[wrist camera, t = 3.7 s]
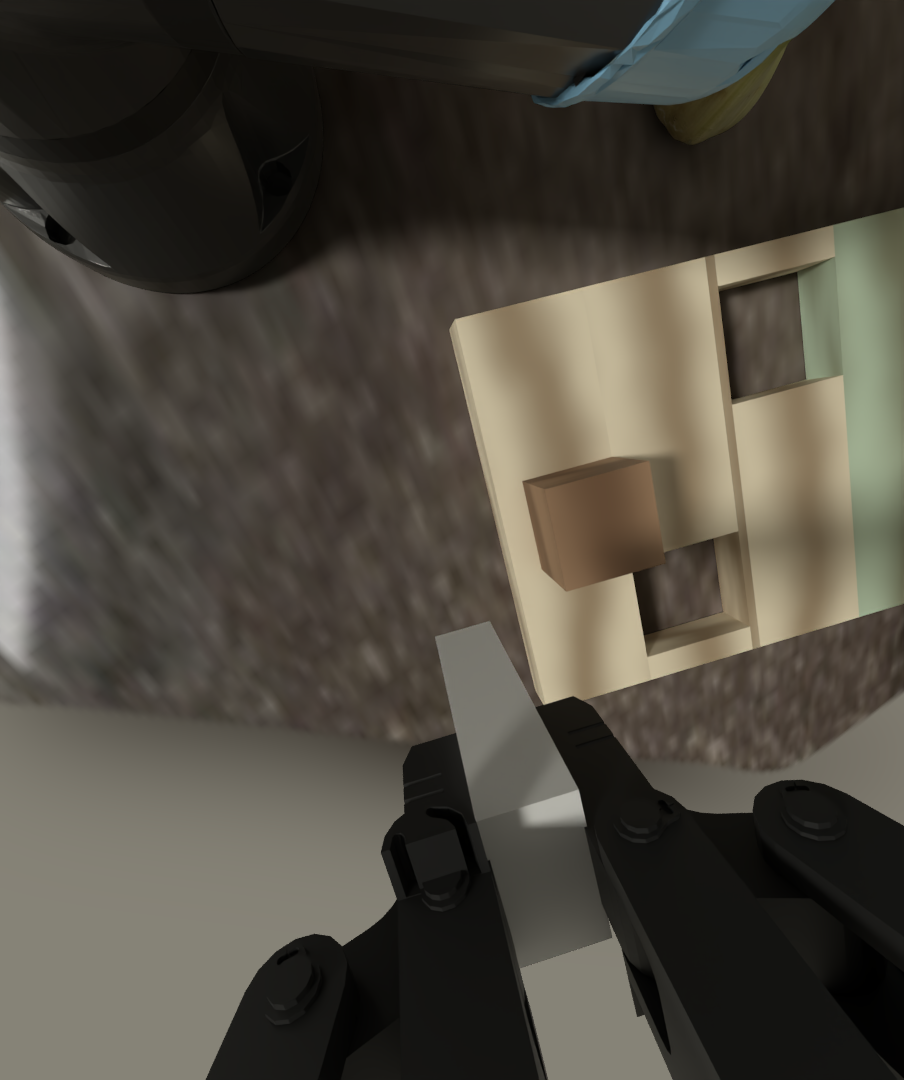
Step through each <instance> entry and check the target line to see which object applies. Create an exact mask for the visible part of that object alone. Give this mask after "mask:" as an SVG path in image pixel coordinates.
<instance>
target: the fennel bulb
mask: <svg viewBox="0 0 904 1080" xmlns="http://www.w3.org/2000/svg"><path fill="white" fill-rule="evenodd" d="M792 39H793V38H792ZM792 39H790V40H787V41H785V42H783V43H782V44H780V45H778V46H777V47H776V48H775V49H774V51H773V52H772V53H771V54H770V55H769V56H768V57H767V58H766V59H765V60H764V61H763V62H762V63H761V64H760V65H758V66H757V67H756V68H754V69H753V70H752V71H750V72H749V73H748V74H746V75H745V76H744V77H742V78H741V79H740V80H738V81H737V82H735V83H733V84H731V85H730V86H728V87H726V88H724V89H722V90H720V91H718V92H716V93H713V94H711V95H709V96H707V97H704V98H701V99H698V100H694V101H690V102H686V103H682V104H674V105H654V104H653V105H654V109H655V112H656V115H657V117H658V118H659V120H660V121H661V122H662V123H663V124H664V125H665V126H666V128H667V130H668V132H669V133H670V134H671V136H672V137H673V138H674V139H675V140H679V141H681V142H683V143H685V144H688V145H695V144H697V143H700V142H702V141H705V140H706V139H708V138H711V137H714V136H716V135H718V134H721V133H723V132H725V131H727V130H728V129H730V128H731V127H733V126H734V125H736V124H737V123H738V122H739V121H740V120H741V119H743V118H744V117H745V116H746V115H747V113H748V112H749V111H750V110H751V109H752V108H753V106H754V105H755V104H756V102H757V101H758V100H759V98H760V97H761V95H762V93H763V92H764V90H765V88H766V87H767V85H768V83H769V81H770V80H771V78H772V76H773V74H774V72H775V70H776V68H777V66H778V64H779V62H780V60H781V58H782V56H783V54H784V51H785V49H786V47H787V44H788V43H789V42H790V41H791V40H792Z"/></svg>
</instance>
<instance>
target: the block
mask: <svg viewBox="0 0 904 1080" xmlns="http://www.w3.org/2000/svg"><path fill="white" fill-rule="evenodd" d="M522 483H523V487H524V492H525V496H526V501H527V505H528V510H529V514H530V519H531V523H532V528H533V532H534V537H535V542H536V546H537V551H538V555H539V560H540V564H541V569H542V570H543V571H544V572H545V573H546V574H547V575H548V576H549V577H551V578H552V579H553V580H554V581H555V582H556V583H557V584H558V585H559V586H560V587H562V588H563V589H564V590H565V591H566V592H568V591H571V590H575V589H578V588H582V587H585V586H588V585H592V584H595V583H599V582H602V581H606V580H609V579H613V578H616V577H620V576H623V575H627V574H630V573H634V572H637V571H641V570H644V569H648V568H651V567H655V566H658V565H662V564H665V563H666V562H665V556H664V549H663V543H662V537H661V530H660V524H659V518H658V512H657V505H656V499H655V493H654V487H653V480H652V474H651V468H650V462H649V461H646V460H637V459H628V458H618V457H609V458H606V459H602V460H598V461H595V462H591V463H587V464H583V465H580V466H576V467H572V468H569V469H565V470H561V471H558V472H554V473H550V474H547V475H543V476H539V477H536V478H532V479H528V480H525V481H522Z"/></svg>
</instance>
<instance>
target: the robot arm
mask: <svg viewBox="0 0 904 1080" xmlns="http://www.w3.org/2000/svg"><path fill="white" fill-rule="evenodd" d="M834 1H835V0H0V202H1V203H2V204H3V205H4V206H5V207H6V208H7V209H8V210H9V211H10V212H11V213H12V214H13V215H14V216H15V217H16V218H17V219H18V220H19V221H20V222H21V223H23V224H24V225H25V226H26V227H27V228H28V229H29V230H31V231H32V232H33V233H34V234H36V235H37V236H38V237H40V238H41V239H42V240H44V241H45V242H46V243H48V244H49V245H51V246H52V247H54V248H55V249H57V250H58V251H60V252H62V253H63V254H65V255H67V256H68V257H70V258H72V259H74V260H76V261H77V262H79V263H81V264H83V265H85V266H86V267H88V268H90V269H92V270H94V271H96V272H98V273H100V274H102V275H104V276H106V277H108V278H111V279H113V280H115V281H118V282H121V283H124V284H126V285H129V286H133V287H137V288H140V289H145V290H150V291H156V292H165V293H194V292H202V291H208V290H213V289H217V288H220V287H224V286H227V285H229V284H232V283H235V282H237V281H239V280H241V279H243V278H246V277H247V276H249V275H251V274H253V273H254V272H256V271H257V270H259V269H260V268H262V267H263V266H265V265H266V264H267V263H268V262H269V261H271V260H272V259H273V258H274V257H275V256H276V255H277V254H278V253H279V252H280V251H281V250H282V249H283V248H284V247H285V246H286V245H287V243H288V242H289V241H290V240H291V238H292V237H293V236H294V234H295V233H296V232H297V230H298V228H299V227H300V225H301V223H302V222H303V220H304V218H305V216H306V214H307V212H308V210H309V207H310V205H311V202H312V200H313V197H314V194H315V191H316V188H317V184H318V180H319V176H320V170H321V164H322V155H323V118H322V109H321V103H320V97H319V92H318V87H317V83H316V78H315V74H314V69H313V66H316V67H324V68H331V69H339V70H347V71H354V72H362V73H369V74H377V75H385V76H392V77H400V78H407V79H415V80H423V81H430V82H438V83H446V84H453V85H461V86H468V87H476V88H484V89H491V90H499V91H506V92H514V93H522V94H529V95H531V97H532V99H533V102H534V103H536V104H539V105H542V106H545V107H553V108H558V107H568V106H570V105H573V104H576V103H579V102H581V101H597V102H616V103H635V104H654V105H674V104H682V103H686V102H690V101H694V100H698V99H701V98H704V97H707V96H709V95H711V94H713V93H716V92H718V91H720V90H722V89H724V88H726V87H728V86H730V85H731V84H733V83H735V82H737V81H738V80H740V79H741V78H742V77H744V76H745V75H746V74H748V73H749V72H750V71H752V70H753V69H754V68H756V67H757V66H758V65H760V64H761V63H762V62H763V61H764V60H765V59H766V58H767V57H768V56H769V55H770V54H771V53H772V52H773V51H774V49H775V48H776V47H777V46H778V45H780V44H782V43H783V42H785V41H787V40H790V39H792V38H794V37H796V36H797V35H799V34H800V33H801V32H802V31H804V30H805V29H806V28H807V27H808V26H809V25H811V24H812V23H813V22H814V21H815V20H816V19H817V18H818V17H819V16H820V15H821V14H822V13H823V12H824V11H825V10H826V9H827V8H828V7H829V6H830V5H831V4H832V3H833V2H834ZM435 639H436V643H437V648H438V652H439V657H440V661H441V666H442V670H443V675H444V680H445V684H446V689H447V693H448V698H449V702H450V707H451V712H452V716H453V721H454V725H455V730H456V733H455V734H452V735H448V736H445V737H442V738H438V739H435V740H432V741H428V742H425V743H422V744H418V745H415V746H412V747H411V750H410V752H409V754H408V756H407V758H406V760H405V762H404V764H403V785H404V802H405V805H404V812H405V814H403V815H402V816H401V817H400V818H399V819H397V820H396V821H395V822H394V823H393V825H392V827H391V828H390V829H389V831H388V832H387V834H386V835H385V838H384V842H383V846H382V850H381V854H382V857H383V860H384V863H385V866H386V869H387V872H388V874H389V877H390V880H391V883H392V886H393V889H394V892H395V895H396V897H397V900H396V902H395V903H394V905H393V906H392V907H391V909H390V910H389V911H388V912H387V913H386V914H385V915H384V917H383V918H382V919H380V920H379V921H378V922H377V923H375V924H374V925H373V926H372V927H371V928H369V929H368V930H366V931H365V932H363V933H362V934H360V935H359V936H357V937H356V938H354V939H353V940H351V941H350V942H348V943H347V944H345V945H344V946H341V945H340V944H338V942H336V941H335V940H334V939H333V938H332V937H331V936H325V935H318V934H313V935H309V936H305V937H302V938H298V939H295V940H294V941H292V942H290V943H289V944H287V945H286V946H284V947H283V948H281V949H279V950H278V951H276V952H275V953H274V954H273V955H272V956H271V957H270V959H269V960H268V961H267V962H266V963H265V964H264V965H263V966H262V967H261V968H260V969H259V970H258V972H257V973H256V975H255V977H254V978H253V980H252V982H251V983H250V985H249V987H248V988H247V990H246V992H245V993H244V996H243V998H242V1000H241V1002H240V1005H239V1007H238V1009H237V1012H236V1013H235V1016H234V1018H233V1020H232V1023H231V1025H230V1027H229V1029H228V1032H227V1033H226V1036H225V1038H224V1040H223V1042H222V1045H221V1047H220V1049H219V1051H218V1054H217V1056H216V1058H215V1060H214V1062H213V1065H212V1067H211V1069H210V1071H209V1074H208V1076H207V1078H206V1080H548V1077H547V1073H546V1070H545V1065H544V1061H543V1057H542V1053H541V1049H540V1045H539V1041H538V1037H537V1033H536V1029H535V1025H534V1020H533V1016H532V1012H531V1009H530V1005H529V1002H528V998H527V995H526V991H525V988H524V984H523V980H522V976H521V972H520V968H522V967H526V966H528V965H532V964H535V963H538V962H540V961H544V960H547V959H550V958H553V957H556V956H559V955H562V954H565V953H568V952H571V951H574V950H577V949H580V948H582V947H586V946H589V945H592V944H595V943H598V942H601V941H604V940H606V939H609V938H612V934H611V929H610V925H609V921H610V923H611V925H612V928H613V930H614V932H615V934H616V937H617V939H618V941H619V943H620V946H621V948H622V952H623V957H624V961H625V966H626V970H627V974H628V979H629V983H630V988H631V992H632V997H633V1001H634V1005H635V1009H636V1014H637V1017H639V1016H642V1015H645V1017H646V1019H647V1021H648V1024H649V1026H650V1028H651V1030H652V1033H653V1035H654V1037H655V1040H656V1042H657V1044H658V1047H659V1049H660V1051H661V1054H662V1056H663V1058H664V1060H665V1062H666V1065H667V1067H668V1070H669V1072H670V1074H671V1077H672V1079H673V1080H904V826H903V825H901V824H900V823H898V822H896V821H894V820H892V819H891V818H889V817H887V816H885V815H884V814H882V813H880V812H878V811H876V810H874V809H873V808H871V807H869V806H868V805H866V804H864V803H862V802H861V801H859V800H857V799H855V798H853V797H852V796H850V795H848V794H846V793H844V792H842V791H839V790H837V789H834V788H832V787H829V786H827V785H825V784H821V783H815V782H810V781H805V780H785V781H779V782H776V783H773V784H771V785H768V786H765V787H764V788H763V789H762V790H761V791H760V792H759V793H758V794H757V795H756V796H755V799H754V806H753V813H729V814H711V813H699V812H695V811H691V810H687V809H686V808H685V807H683V806H682V805H681V804H680V803H679V802H677V801H676V800H675V799H674V798H673V797H672V796H669V795H667V794H664V793H662V792H660V791H658V790H655V789H654V788H653V787H652V786H651V785H650V783H649V782H648V781H647V779H646V778H645V777H644V775H643V774H642V773H641V771H640V770H639V769H638V767H637V766H636V764H635V763H634V762H633V760H632V759H631V758H630V756H629V755H628V754H627V752H626V751H625V750H624V748H623V747H622V746H621V744H620V743H619V741H618V740H617V739H616V737H615V738H614V736H613V733H612V732H611V731H610V729H609V728H608V727H607V725H606V724H604V721H603V720H602V719H601V717H600V716H599V714H598V713H597V712H596V710H595V709H594V708H593V706H591V705H589V704H588V703H586V702H584V701H582V700H580V699H578V698H576V697H574V696H572V697H568V698H565V699H562V700H558V701H555V702H552V703H548V704H545V705H542V706H538V707H535V706H534V704H533V702H532V700H531V698H530V697H529V695H528V693H527V691H526V689H525V687H524V685H523V683H522V681H521V680H520V678H519V676H518V674H517V672H516V670H515V668H514V666H513V664H512V663H511V661H510V659H509V657H508V655H507V653H506V651H505V649H504V647H503V646H502V644H501V642H500V640H499V638H498V636H497V634H496V632H495V630H494V629H493V627H492V625H491V623H490V621H488V622H485V623H481V624H478V625H474V626H471V627H467V628H464V629H460V630H457V631H454V632H450V633H447V634H443V635H440V636H436V637H435ZM608 919H609V920H608Z"/></svg>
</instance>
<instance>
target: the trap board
mask: <svg viewBox="0 0 904 1080" xmlns="http://www.w3.org/2000/svg"><path fill="white" fill-rule="evenodd" d="M794 272H797V275H798V287H799V299H800V311H801V323H802V335H803V347H804V359H805V371H806V380H803V381H800V382H796V383H792V384H788V385H785V386H781V387H777V388H774V389H770V390H766V391H762V392H759V393H755V394H751V395H747V396H744V397H740V398H736V399H733V400H731V393H730V384H729V376H728V367H727V359H726V350H725V342H724V333H723V325H722V316H721V308H720V299H719V292H720V291H723V290H727V289H731V288H735V287H739V286H743V285H747V284H751V283H755V282H759V281H763V280H767V279H771V278H775V277H778V276H782V275H786V274H790V273H794ZM449 331H450V335H451V339H452V343H453V347H454V352H455V356H456V360H457V364H458V368H459V373H460V377H461V381H462V385H463V389H464V393H465V398H466V402H467V406H468V410H469V414H470V419H471V423H472V427H473V431H474V435H475V440H476V444H477V448H478V452H479V456H480V461H481V465H482V469H483V473H484V477H485V482H486V486H487V490H488V494H489V498H490V502H491V507H492V511H493V515H494V519H495V523H496V528H497V532H498V536H499V540H500V544H501V549H502V553H503V557H504V561H505V565H506V570H507V574H508V578H509V582H510V586H511V591H512V595H513V599H514V603H515V607H516V611H517V616H518V620H519V624H520V628H521V632H522V637H523V641H524V645H525V649H526V653H527V658H528V662H529V666H530V670H531V674H532V679H533V683H534V687H535V690H536V692H537V694H538V696H539V698H540V699H541V701H542V703H543V705H545V704H548V703H552V702H555V701H558V700H562V699H565V698H568V697H572V696H574V697H576V698H578V699H580V700H586V699H589V698H592V697H596V696H599V695H602V694H606V693H609V692H612V691H616V690H619V689H622V688H626V687H629V686H632V685H636V684H639V683H642V682H645V681H649V680H652V679H655V678H659V677H662V676H665V675H669V674H672V673H675V672H679V671H682V670H685V669H689V668H692V667H695V666H698V665H702V664H705V663H708V662H712V661H715V660H718V659H722V658H725V657H728V656H732V655H735V654H738V653H742V652H745V651H748V650H752V649H755V648H758V647H761V646H765V645H768V644H771V643H775V642H778V641H781V640H785V639H788V638H791V637H795V636H798V635H801V634H805V633H808V632H811V631H815V630H818V629H821V628H824V627H828V626H831V625H834V624H838V623H841V622H844V621H848V620H851V619H854V618H858V617H861V616H864V615H868V614H871V613H874V612H877V611H881V610H884V609H887V608H891V607H894V606H897V605H901V604H904V208H900V209H896V210H892V211H888V212H884V213H880V214H876V215H872V216H868V217H864V218H860V219H856V220H852V221H848V222H844V223H840V224H836V225H832V226H828V227H824V228H820V229H816V230H811V231H807V232H803V233H799V234H795V235H791V236H787V237H783V238H779V239H775V240H771V241H767V242H763V243H759V244H755V245H751V246H747V247H743V248H739V249H735V250H731V251H727V252H723V253H719V254H715V255H711V256H707V257H703V258H699V259H695V260H691V261H687V262H683V263H679V264H675V265H671V266H667V267H663V268H659V269H655V270H651V271H647V272H643V273H639V274H635V275H631V276H627V277H623V278H619V279H615V280H611V281H607V282H603V283H599V284H595V285H591V286H587V287H583V288H579V289H575V290H571V291H567V292H563V293H559V294H555V295H551V296H547V297H543V298H539V299H535V300H531V301H527V302H523V303H519V304H515V305H511V306H507V307H503V308H499V309H495V310H491V311H487V312H483V313H479V314H475V315H471V316H467V317H463V318H459V319H455V320H454V322H453V324H452V326H451V328H450V329H449ZM609 457H618V458H628V459H637V460H646V461H649V462H650V468H651V474H652V480H653V487H654V493H655V499H656V505H657V512H658V518H659V524H660V530H661V537H662V543H663V549H664V552H667V551H671V550H674V549H678V548H681V547H684V546H688V545H691V544H695V543H698V542H702V541H705V540H709V539H712V538H713V541H714V548H715V556H716V563H717V571H718V578H719V585H720V593H721V600H722V608H723V612H722V613H718V614H715V615H711V616H708V617H705V618H701V619H698V620H695V621H691V622H688V623H684V624H681V625H678V626H674V627H671V628H668V629H664V630H661V631H657V632H654V633H651V634H647V635H644V636H643V630H642V624H641V619H640V613H639V607H638V602H637V596H636V590H635V585H634V579H633V573H630V574H627V575H623V576H620V577H616V578H613V579H609V580H606V581H602V582H599V583H595V584H592V585H588V586H585V587H582V588H578V589H575V590H571V591H568V592H566V591H565V590H564V589H563V588H562V587H560V586H559V585H558V584H557V583H556V582H555V581H554V580H553V579H552V578H551V577H549V576H548V575H547V574H546V573H545V572H544V571H543V570H542V569H541V564H540V560H539V555H538V551H537V546H536V542H535V537H534V532H533V528H532V523H531V519H530V514H529V510H528V505H527V501H526V496H525V492H524V487H523V483H522V481H525V480H528V479H532V478H536V477H539V476H543V475H547V474H550V473H554V472H558V471H561V470H565V469H569V468H572V467H576V466H580V465H583V464H587V463H591V462H595V461H598V460H602V459H606V458H609Z"/></svg>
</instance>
